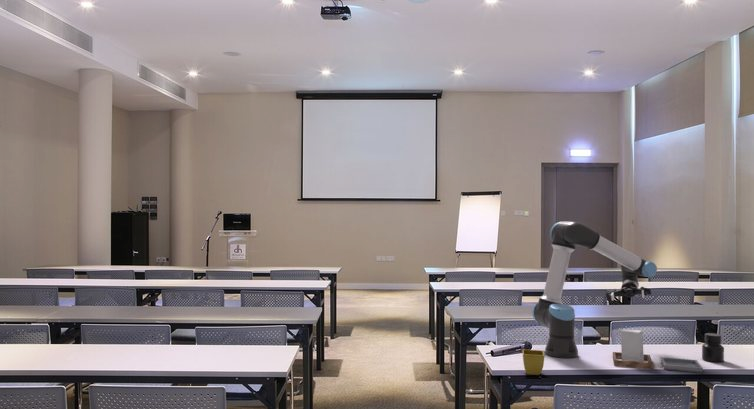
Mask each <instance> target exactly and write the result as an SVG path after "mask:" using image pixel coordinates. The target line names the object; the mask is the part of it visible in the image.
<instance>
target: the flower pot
mask: <svg viewBox="0 0 754 409" xmlns="http://www.w3.org/2000/svg"><path fill="white" fill-rule="evenodd" d="M521 352H522V360H523V368H524V370H525V373H526V374H527V375H532V376H533V375H536V376H539V375H540V376H541V373H542V372H543V370H544V369H543V368H544V363H545V355H546V354H545V351H544V350H538V349H522V351H521Z"/></svg>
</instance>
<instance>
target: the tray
mask: <svg viewBox="0 0 754 409" xmlns="http://www.w3.org/2000/svg"><path fill="white" fill-rule="evenodd" d="M659 359H660V360H659V361H661V362H660V363H662V364H661V366H662V365H663V366H662V368H663V367H664V368H663V370H666V371H667V370H668V371H676V372H677V371H678V372H689V373H699V374H700V373H701V374H704V367H702V365H701V364H700V362H699V361H698V359H690V358H689V359H687V358H678V357H677V358H673V357H664V356H663V357H662V356H661V357H660V358H659Z"/></svg>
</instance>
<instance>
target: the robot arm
mask: <svg viewBox="0 0 754 409" xmlns="http://www.w3.org/2000/svg"><path fill="white" fill-rule="evenodd" d="M549 235H550V240H551V243H550V244H551V248H552V249H553V251H552V256H551V260H550V263H549V267H548V273H547V277H546V281H545V286H544V291H543V294H542V295H541V296H540V297H539V298H538V302H537V303H536V304H534V306H533V307H532V312H531V313H532V319H533V320H534V321H535V322H536V323H537V324H538V325H540V327H541V326H542V327H545V328H547V329H548V340H547V342H546V345H545V350H544V355H547V356H549V357H554V358H560V359H561V358H562V359H571V358H577V357H578V356H579V351H578V347H577V344H576V341H575V325H576V324H575V318H576V314H575V309H574V308H573V307H572V306H571V305H569V304H565V303H564V302H563V301H562V299H561V298H562V295H563V290H564V285H565V281H566V278H567V272H568V268H569V263H570V259H571V258H570V257H571V254H572V253H573V252H574V251H575V250H576V247H577V246H578V247H582V248H585V249H587V250H589V251H594V252H597V253H599V255H600V254H601V255H602V256H605V257H606V258H608V259H610V260H611V261H614V262H616V263H617V264H619V265H620V269H621V270H620V271H621V279H622V280H621V283H622V284H621V288H619V289H617V288H613V290H610V291H608V292H605V295H606V297H605V298H606V299H608V298H609V299H610V300H611V302H613V301H614V300H615V298H616V297H623V296H624V297H626V298H633V297H635V296H636V295H641V296H642V299H645V296H648V295H652V290H651V288H648V287H644V286H640V285H639V278H638V276H641V277H646V278H647V277H648V278H649V277H650V278H651V277H654V276H655V275H656V274H657V271H658V267H657V264H655V263H654V262H653V261H650V260H646V259H644V258H641V257H640V256H638V255H636V254H634V253H633V252H631V251H629V250H627V249H625V248H624V247H621V246H620V245H618V244H616V243H614V242H612V241H610V240H609V239H606V237H603V236H601V234H600V232H599V231H596V230H595V229H593V228H592V227H590V226H588V225H586V224H584V223H582V222H579V221H568V220H564V221H559V222H556V223H554V224H553V225H552V227H551V229H550V231H549ZM639 286H640V287H639Z"/></svg>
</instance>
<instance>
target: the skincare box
mask: <svg viewBox="0 0 754 409" xmlns="http://www.w3.org/2000/svg"><path fill="white" fill-rule="evenodd" d="M643 333H644V331H643V330H639V329H630V328H623V329H622V330H620V344H621V353H622V358H621V360H625V361H637V362H645V360H644V337H643V336H644V335H643Z"/></svg>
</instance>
